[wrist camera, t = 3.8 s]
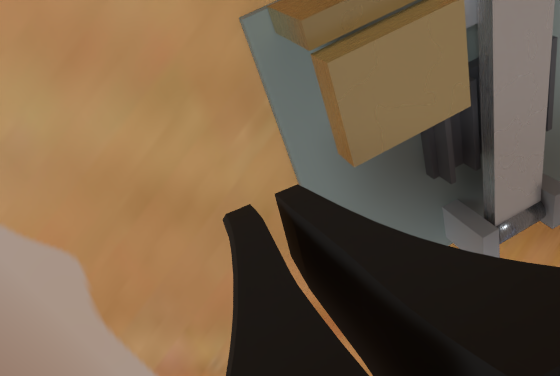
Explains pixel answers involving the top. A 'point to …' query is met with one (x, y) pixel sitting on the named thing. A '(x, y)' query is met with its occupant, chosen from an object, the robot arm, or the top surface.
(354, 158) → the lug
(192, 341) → the top surface
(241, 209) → the robot arm
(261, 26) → the clip base
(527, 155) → the strap
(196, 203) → the top surface
